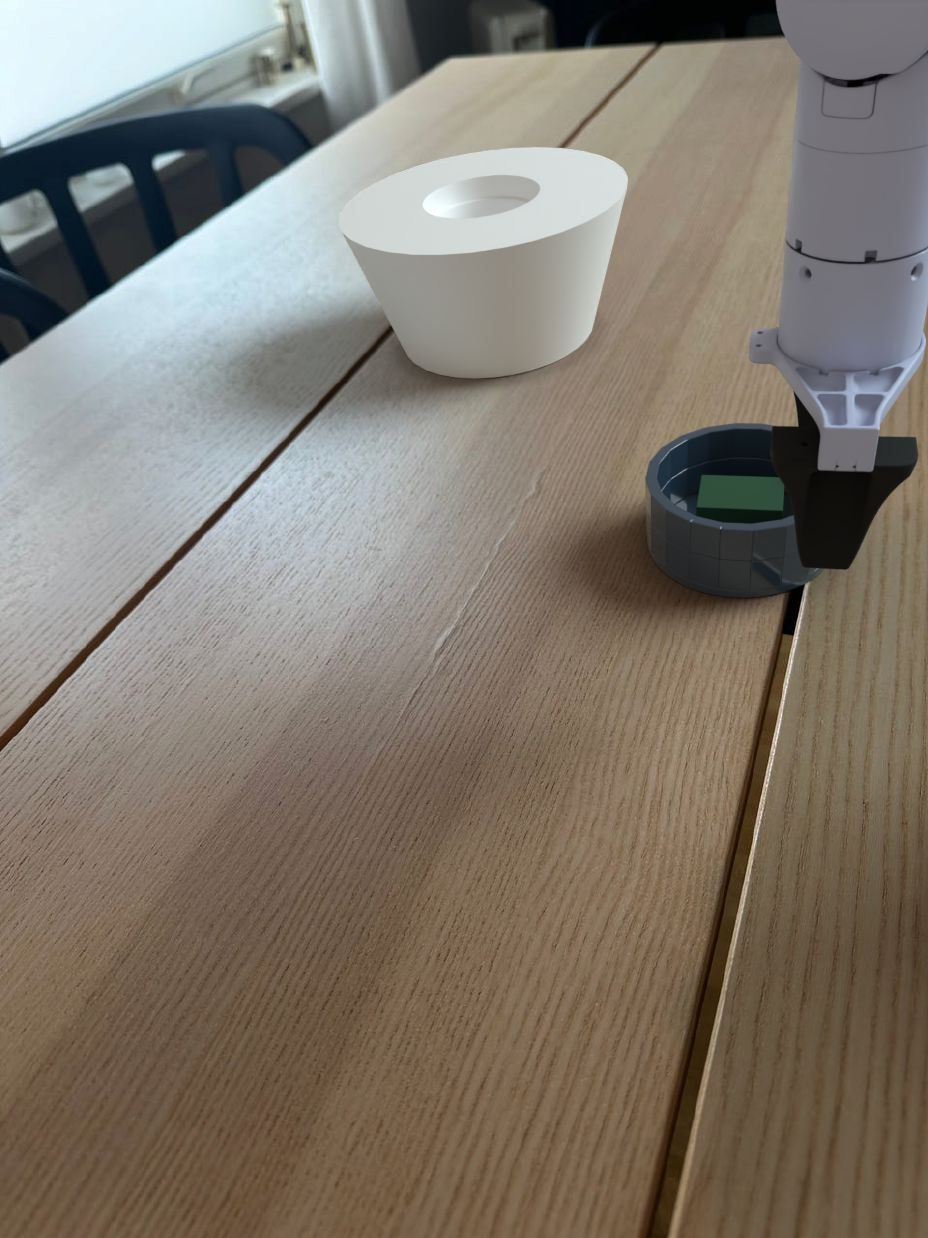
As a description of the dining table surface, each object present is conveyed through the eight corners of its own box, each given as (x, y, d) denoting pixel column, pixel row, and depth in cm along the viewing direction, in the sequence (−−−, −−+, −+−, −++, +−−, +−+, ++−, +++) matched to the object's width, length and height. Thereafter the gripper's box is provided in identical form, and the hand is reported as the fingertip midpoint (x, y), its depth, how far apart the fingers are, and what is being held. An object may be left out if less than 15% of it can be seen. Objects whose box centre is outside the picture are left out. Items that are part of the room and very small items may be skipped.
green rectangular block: (781, 516, 62) (784, 477, 60) (779, 550, 60) (782, 510, 58) (700, 513, 64) (701, 474, 62) (695, 546, 61) (696, 507, 59)
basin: (834, 490, 64) (843, 424, 61) (835, 604, 56) (846, 534, 53) (658, 484, 68) (657, 421, 64) (636, 591, 60) (634, 525, 56)
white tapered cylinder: (568, 255, 99) (559, 129, 92) (681, 348, 82) (682, 200, 74) (341, 317, 96) (312, 191, 88) (407, 428, 78) (378, 282, 70)
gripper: (763, 176, 45) (747, 433, 54) (745, 318, 35) (730, 606, 44) (931, 167, 43) (886, 435, 52) (964, 315, 33) (901, 618, 42)
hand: (825, 514), depth 48 cm, fingers open, 7 cm apart
